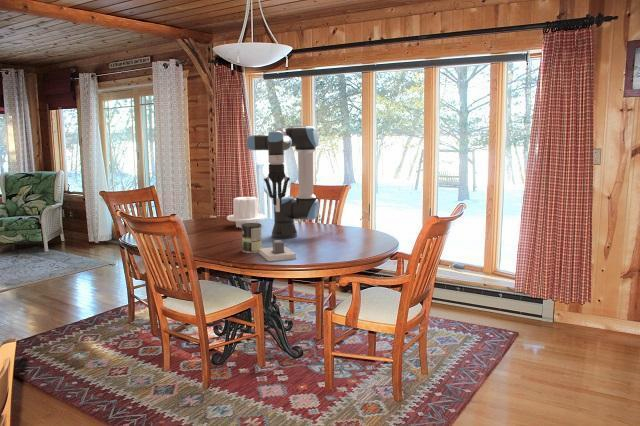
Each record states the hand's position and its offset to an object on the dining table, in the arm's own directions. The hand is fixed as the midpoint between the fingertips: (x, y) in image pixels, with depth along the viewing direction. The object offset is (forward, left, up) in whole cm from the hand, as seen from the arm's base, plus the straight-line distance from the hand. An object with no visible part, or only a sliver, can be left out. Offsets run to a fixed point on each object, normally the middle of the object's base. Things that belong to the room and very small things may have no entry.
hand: (277, 211), depth 258 cm
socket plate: (-2, 0, -23) cm, 23 cm away
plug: (+1, 0, -23) cm, 23 cm away
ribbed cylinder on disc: (-87, +4, -23) cm, 90 cm away
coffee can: (-18, -9, -23) cm, 31 cm away
